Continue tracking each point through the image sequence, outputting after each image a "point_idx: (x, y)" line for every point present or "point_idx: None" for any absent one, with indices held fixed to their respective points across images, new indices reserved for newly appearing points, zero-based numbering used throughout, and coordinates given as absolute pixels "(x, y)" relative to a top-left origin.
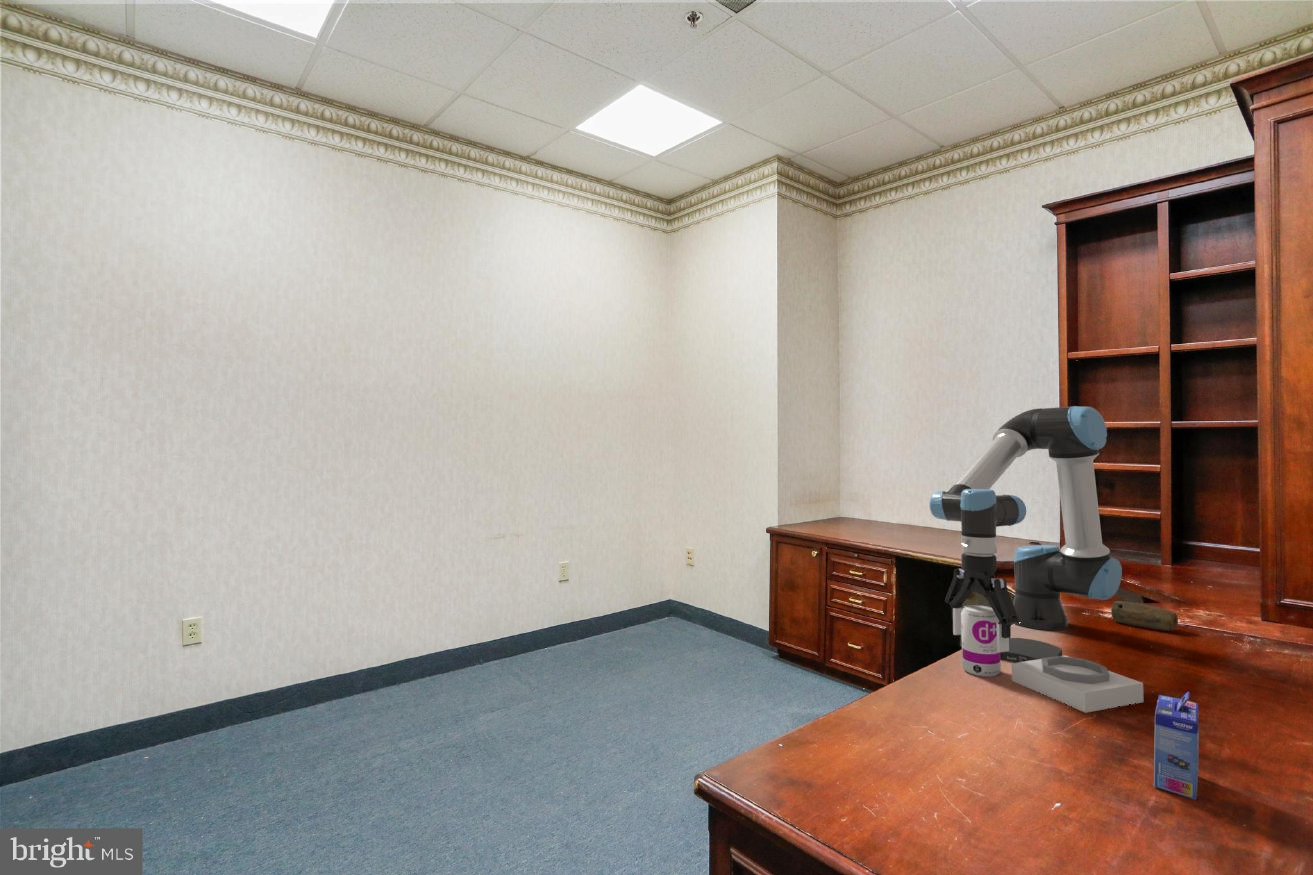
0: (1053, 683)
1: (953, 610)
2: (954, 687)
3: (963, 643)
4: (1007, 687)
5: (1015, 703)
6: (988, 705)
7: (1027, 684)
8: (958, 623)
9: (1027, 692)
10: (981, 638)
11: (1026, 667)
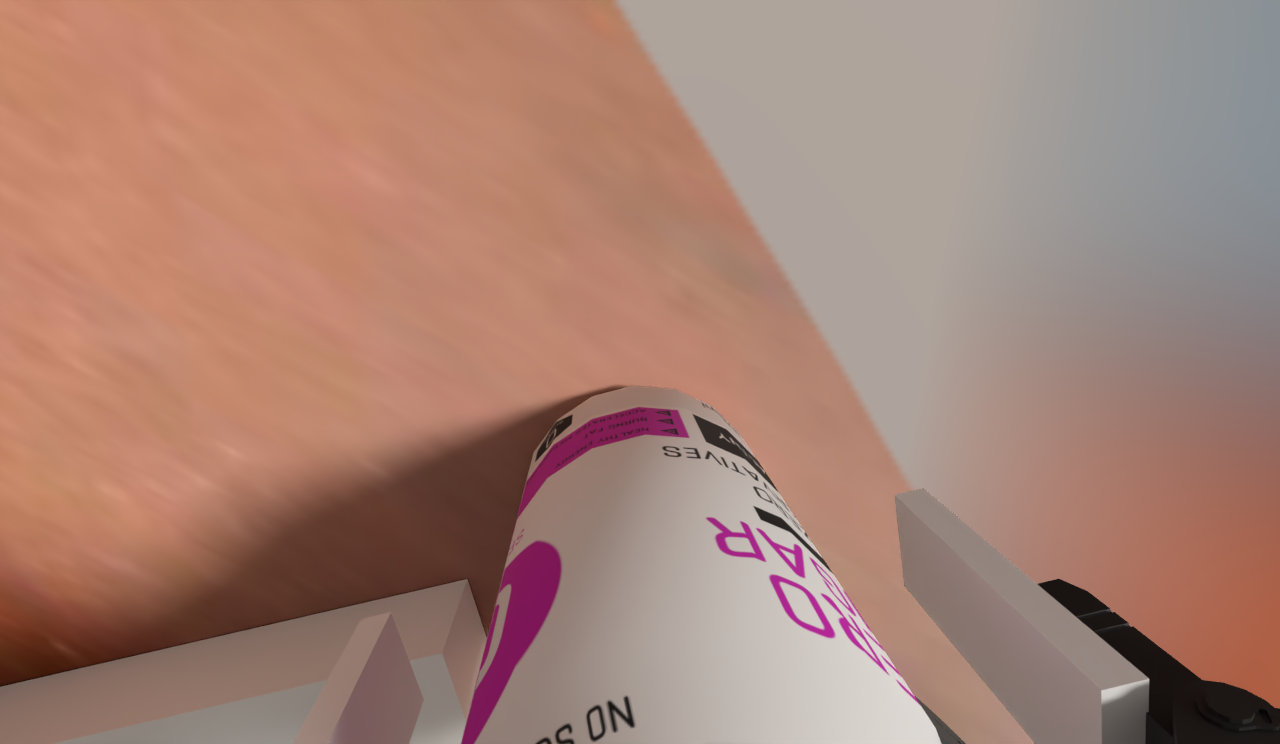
0: (112, 716)
1: (1109, 657)
2: (366, 152)
3: (676, 453)
4: (361, 497)
5: (91, 402)
6: (37, 210)
7: (348, 616)
8: (962, 595)
9: (279, 564)
10: (502, 593)
11: None
